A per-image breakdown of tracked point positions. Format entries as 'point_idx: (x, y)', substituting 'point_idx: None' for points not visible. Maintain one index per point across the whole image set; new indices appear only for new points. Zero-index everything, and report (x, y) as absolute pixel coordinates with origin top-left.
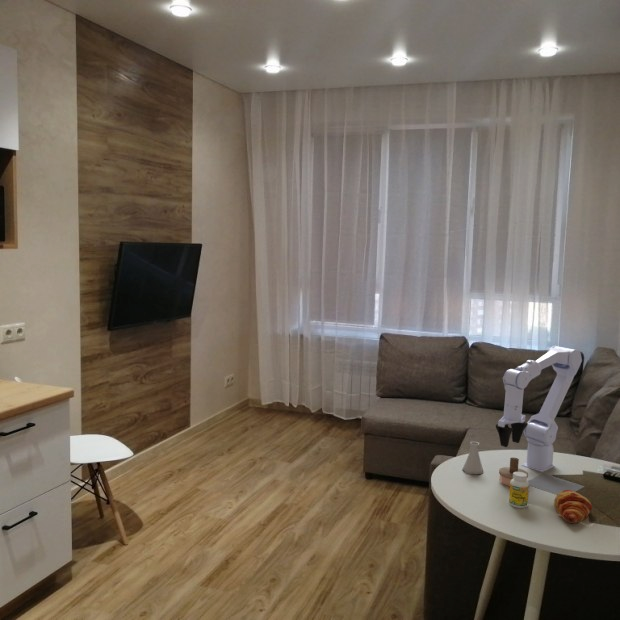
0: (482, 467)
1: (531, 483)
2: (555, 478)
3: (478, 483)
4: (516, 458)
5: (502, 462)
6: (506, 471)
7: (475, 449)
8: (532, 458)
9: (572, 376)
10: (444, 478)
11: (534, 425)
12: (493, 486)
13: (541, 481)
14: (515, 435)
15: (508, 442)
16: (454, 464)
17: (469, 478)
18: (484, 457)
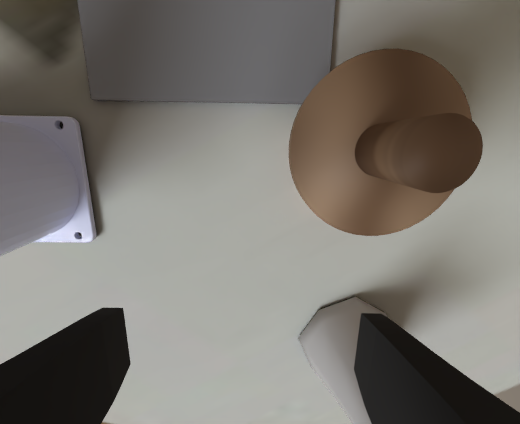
0: (327, 325)
1: (295, 69)
2: (100, 6)
3: (469, 252)
4: (416, 147)
5: (135, 315)
6: (400, 186)
7: None
8: (36, 195)
9: None
10: (509, 361)
11: None
12: (458, 190)
13: (219, 43)
14: (66, 421)
15: (395, 343)
16: (333, 413)
17: (439, 304)
18: (153, 388)
